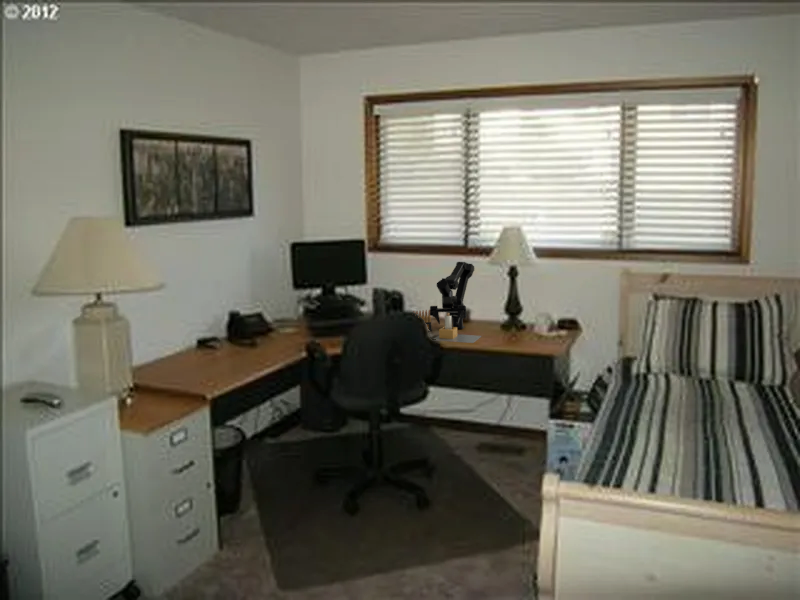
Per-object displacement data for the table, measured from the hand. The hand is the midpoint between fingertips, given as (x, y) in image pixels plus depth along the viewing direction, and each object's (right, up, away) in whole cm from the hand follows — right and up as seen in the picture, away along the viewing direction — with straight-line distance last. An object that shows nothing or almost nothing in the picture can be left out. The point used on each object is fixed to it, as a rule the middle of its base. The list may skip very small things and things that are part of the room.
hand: (448, 324), depth 360 cm
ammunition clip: (-13, -5, +21) cm, 25 cm away
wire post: (0, -7, +3) cm, 7 cm away
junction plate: (+5, -8, 0) cm, 9 cm away
